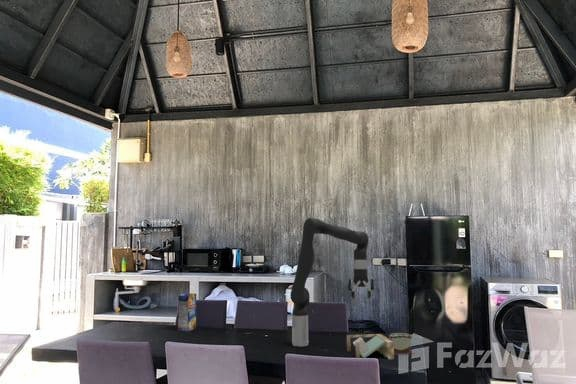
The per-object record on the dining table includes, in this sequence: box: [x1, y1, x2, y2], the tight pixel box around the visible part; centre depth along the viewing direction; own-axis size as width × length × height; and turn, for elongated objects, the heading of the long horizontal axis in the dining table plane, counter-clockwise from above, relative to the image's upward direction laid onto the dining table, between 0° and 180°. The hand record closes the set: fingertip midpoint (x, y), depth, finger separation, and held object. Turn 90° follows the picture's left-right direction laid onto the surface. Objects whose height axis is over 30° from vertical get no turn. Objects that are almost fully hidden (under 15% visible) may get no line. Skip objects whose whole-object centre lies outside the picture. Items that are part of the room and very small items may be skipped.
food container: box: [388, 332, 413, 355], centre depth 233 cm, size 12×6×10 cm, turn 92°
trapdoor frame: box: [346, 333, 395, 360], centre depth 229 cm, size 20×20×8 cm
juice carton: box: [177, 292, 197, 333], centre depth 299 cm, size 12×8×24 cm, turn 165°
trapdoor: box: [360, 336, 386, 359], centre depth 229 cm, size 14×14×1 cm
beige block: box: [352, 337, 369, 354], centre depth 229 cm, size 5×5×6 cm
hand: (361, 298), depth 232 cm, fingers open, 8 cm apart
